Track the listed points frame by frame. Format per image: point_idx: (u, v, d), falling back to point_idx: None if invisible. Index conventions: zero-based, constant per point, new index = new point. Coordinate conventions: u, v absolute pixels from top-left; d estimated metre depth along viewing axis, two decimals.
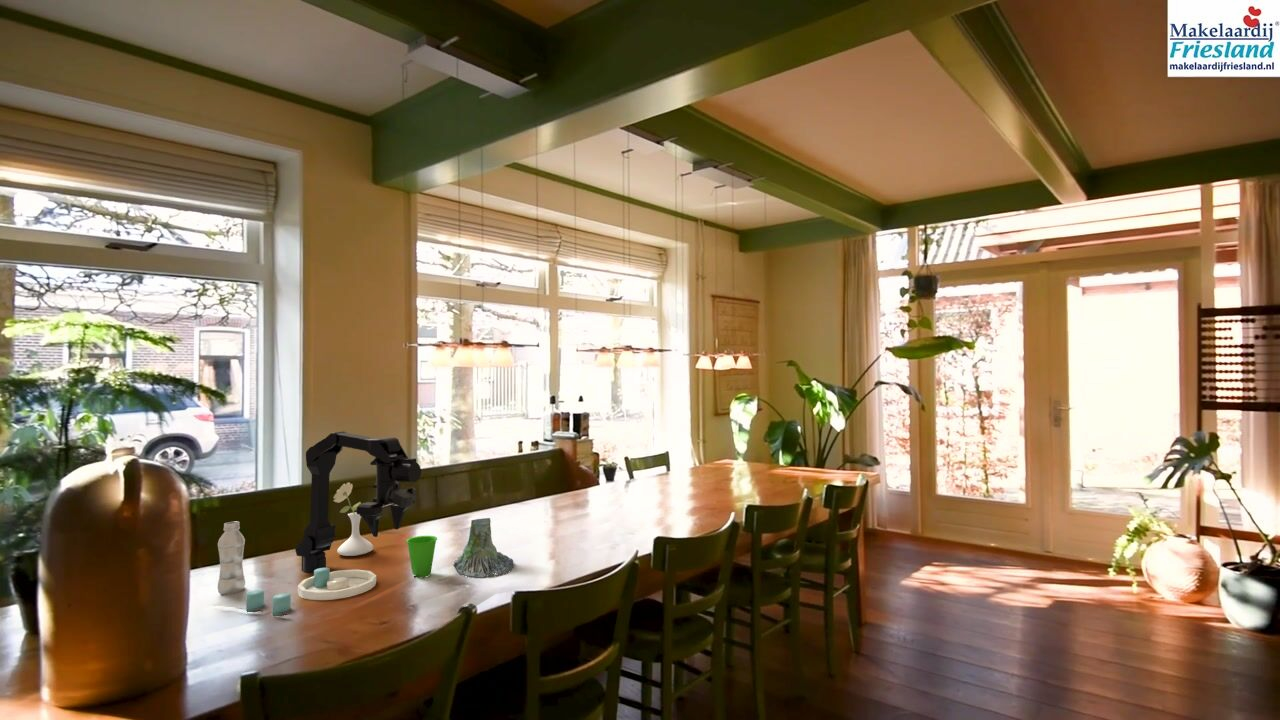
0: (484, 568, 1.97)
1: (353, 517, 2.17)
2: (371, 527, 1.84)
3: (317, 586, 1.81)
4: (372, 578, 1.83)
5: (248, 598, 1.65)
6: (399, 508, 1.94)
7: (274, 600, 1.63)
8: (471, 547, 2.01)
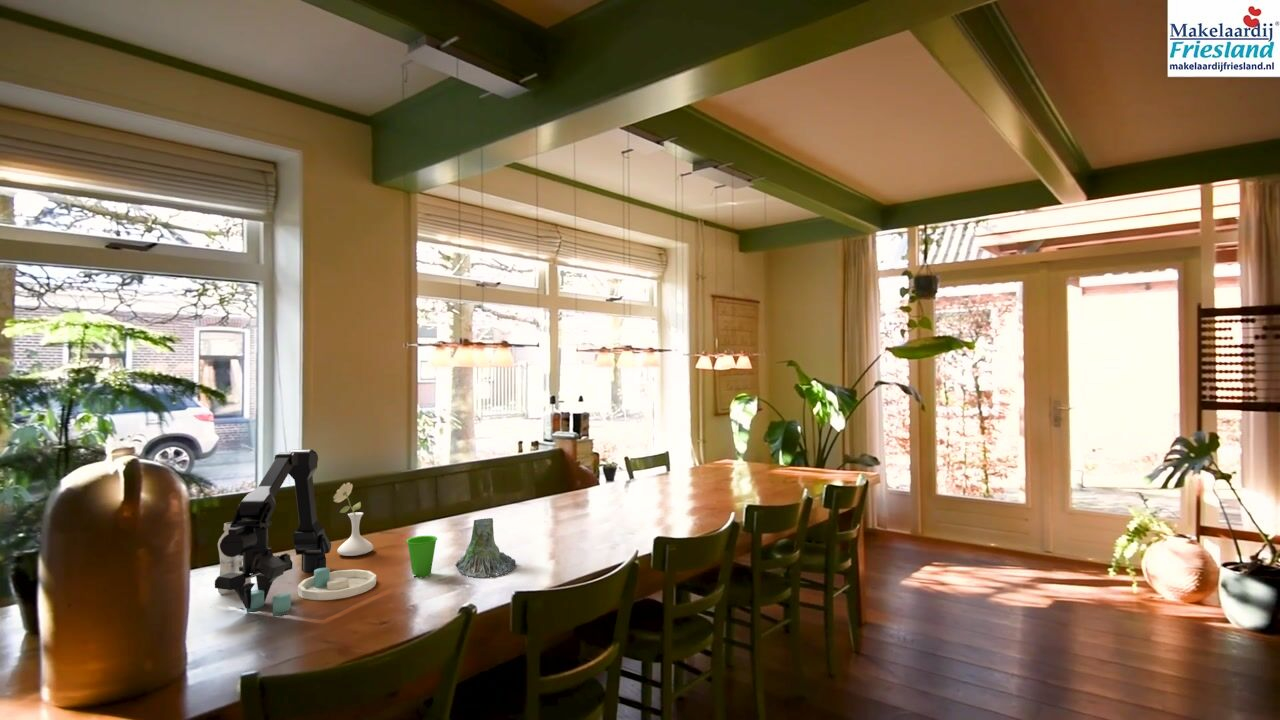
0: (486, 568, 1.97)
1: (353, 517, 2.17)
2: (242, 598, 1.64)
3: (317, 586, 1.81)
4: (372, 578, 1.83)
5: None
6: (265, 578, 1.70)
7: (274, 600, 1.63)
8: (473, 547, 2.01)
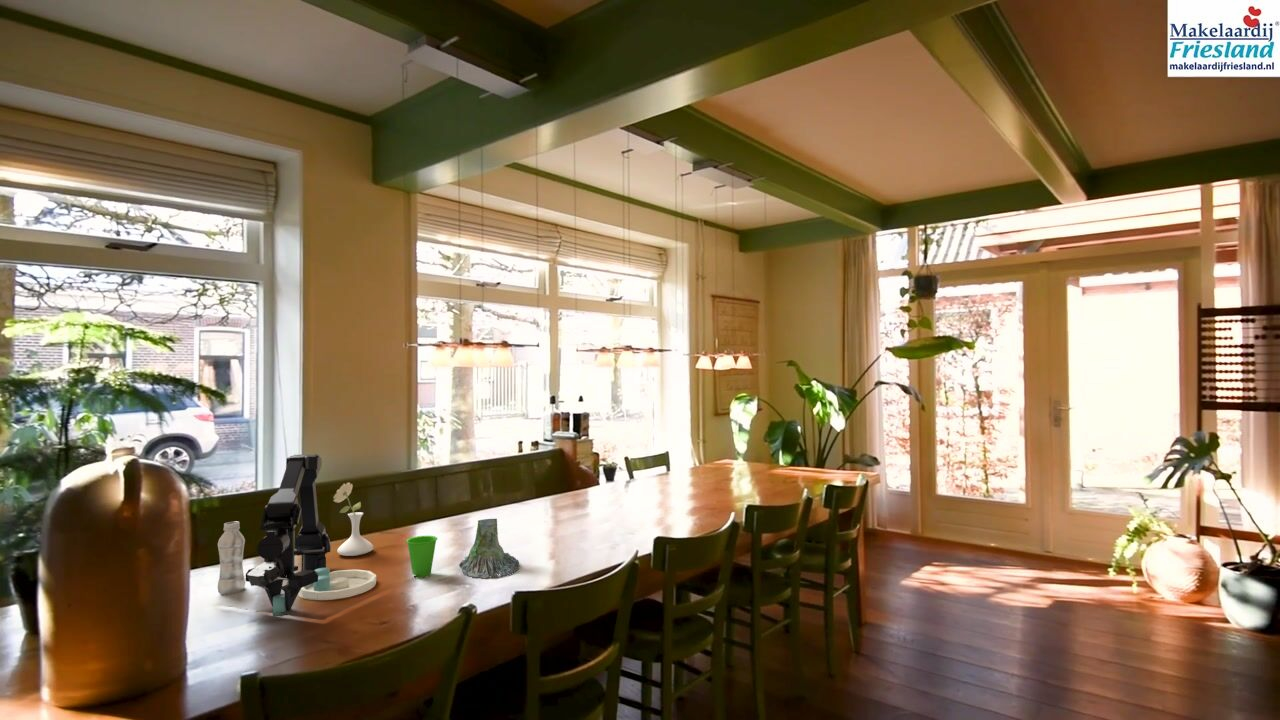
0: (489, 569, 1.97)
1: (353, 517, 2.17)
2: None
3: None
4: (372, 578, 1.83)
5: None
6: None
7: (274, 600, 1.63)
8: (476, 547, 2.01)
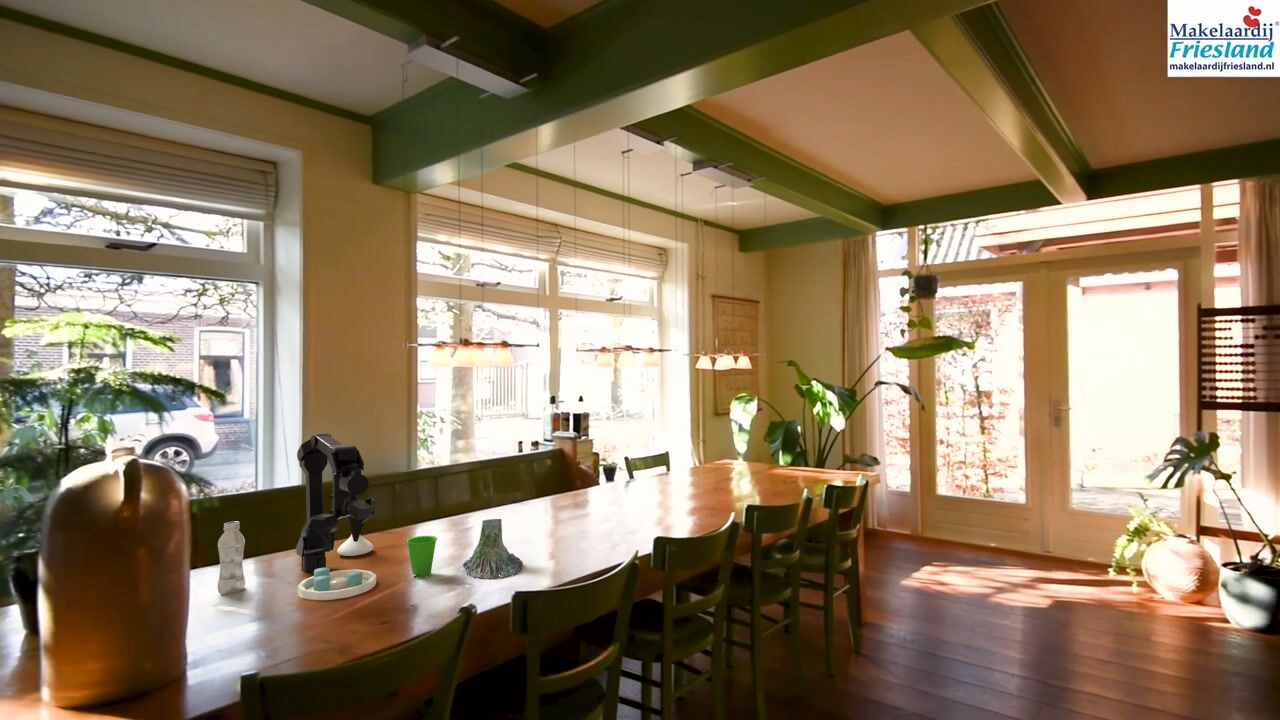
0: (491, 569, 1.96)
1: None
2: (326, 540, 1.76)
3: None
4: (372, 578, 1.83)
5: None
6: (358, 519, 1.86)
7: (359, 576, 1.79)
8: (480, 547, 2.00)
